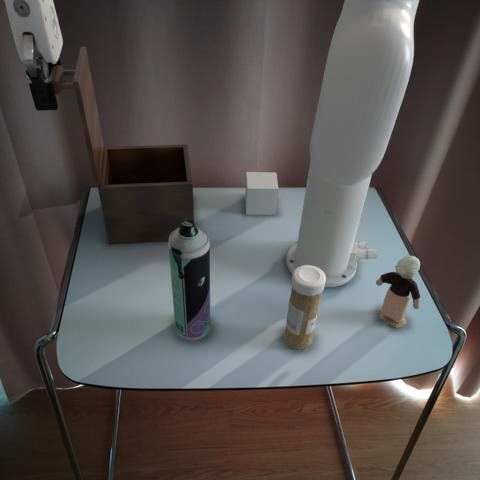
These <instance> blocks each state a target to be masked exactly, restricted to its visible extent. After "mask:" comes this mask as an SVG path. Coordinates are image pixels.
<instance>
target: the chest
mask: <svg viewBox="0 0 480 480" xmlns="http://www.w3.org/2000/svg"><path fill="white" fill-rule="evenodd" d="M192 175H193V174H192V167H191V159H190V151H189V145H188V143H187V144H156V145H127V146H126V145H125V146H122V145H121V146H120V145H119V146H104V148H103V158H102V167H101V177H100V185H97V192H98V196H99V201H100V205H101V206H100V207H101V211H102V215H103V216H102V217H103V220H104V226H105V231H106V236H107V241H108V245H122V244H123V245H124V244H141V243H143V244H144V243H159V242H169V236H170V234H171V233H172V232H173V231H174V230H176V229H178V228H180V227H181V224H182V223H183V222H185V221H188V220H192V221H194V222H195V210H194V209H195V208H194V207H195V206H194V184H193V183H194V182H193V176H192Z"/></svg>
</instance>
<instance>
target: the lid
mask: <svg viewBox="0 0 480 480" xmlns="http://www.w3.org/2000/svg"><path fill="white" fill-rule="evenodd" d="M87 50H88V49H87V47H86V46H80V48H79V53H78V58H77V62H76V67H75V69H65V68H64V67H63V65H62V66H60V65H55V66H54V67H53V68H52V71H51V74H50V78H49V81H52V83H53V87H54V91H55V95H59V94H60V93H61V92H62V90H74V93H75V98H76V104H77V108H78V113H79V118H80V122H81V128H82V132H83V136H84V140H85V146H86V150H87V155H88V160H89V165H90V170H91V174H92V178H93V183H94V186H98V185H100V177H101V167H102V158H103V148H104V147H105V143H104V138H103V132H102V126H101V121H100V115H99V111H98V105H97V99H96V95H95V88H94V83H93V78H92V73H91V72H92V71H91V67H90V61H89V56H88V51H87ZM72 76H73V80H72V82H64V78H66V77H72ZM63 82H64V83H63Z"/></svg>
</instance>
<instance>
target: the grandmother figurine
mask: <svg viewBox="0 0 480 480" xmlns="http://www.w3.org/2000/svg"><path fill="white" fill-rule="evenodd" d="M420 267H421V261H420V259H419V258H418V257H416V256H415V255H406V256H403V257H402V258H400V259H399V260H398V262H397V263H396V264H395V265H394V268H395V271H389V272H386V273H383V274H381V275H380V277H379V278H378V279H377V280H376V281H375V284H376V286H378V287H381V286H383V284H388V285H390V286H389V287H388V289H387V291H386V294H385V296H384V299H383V303H382V306H381V311H380V312H379V314H378V320H380V321H382V322H388V321H389V320H390V319H392V320H391V321H390V323H389V324H390V326H391V327H392V328H395V329H400V328H402V327H405V326H406V325H407V319H406V318H405V316H406V312H407V308H408V306H409V303H410V296H411V299H412V307H413V309H415V310H419V309H420V308H421V304H420V303H421V294H420V290H419V287H418V284H417V282H416V281H415V280H414V279H413V278H414V277H416V276H417V274H418V273H419V271H420V269H421V268H420Z"/></svg>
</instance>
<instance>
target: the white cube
mask: <svg viewBox="0 0 480 480" xmlns="http://www.w3.org/2000/svg"><path fill="white" fill-rule="evenodd" d="M279 190H280V189H279V181H278V174H277V172H276V171H275V172H274V171H273V172H272V171H271V172H270V171H269V172H268V171H246V174H245V193H244V201H245V215H251V216H253V215H255V216H256V215H257V216H258V215H259V216H277V207H278V199H279Z"/></svg>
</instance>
